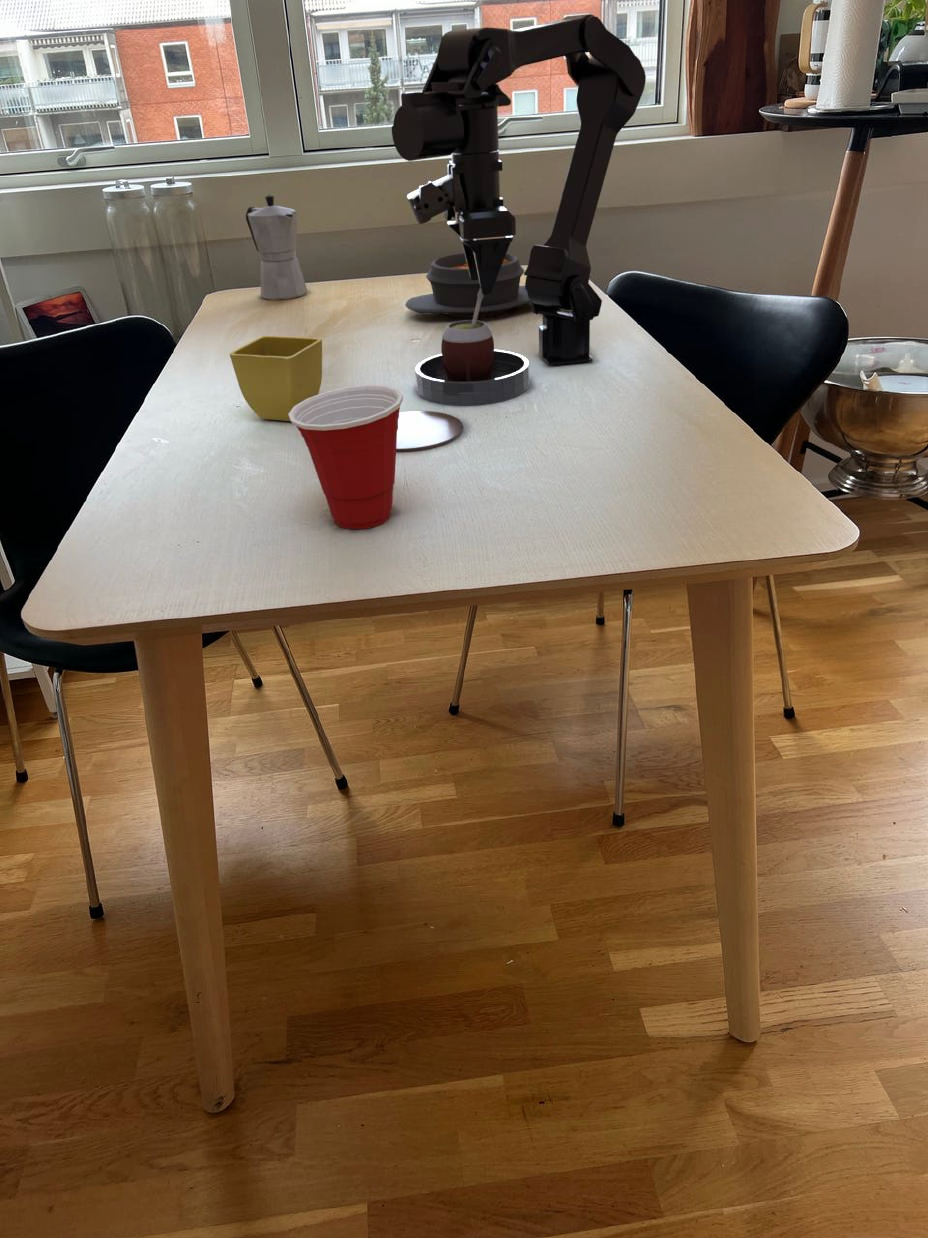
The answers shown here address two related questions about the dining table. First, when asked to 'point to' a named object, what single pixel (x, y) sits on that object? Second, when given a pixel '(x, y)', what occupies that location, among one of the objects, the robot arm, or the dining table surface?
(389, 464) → the plastic cup
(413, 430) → the disc
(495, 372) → the pan
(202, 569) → the dining table surface
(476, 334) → the mate gourd
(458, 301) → the casserole
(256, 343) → the flower pot
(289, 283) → the coffeepot
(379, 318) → the dining table surface
